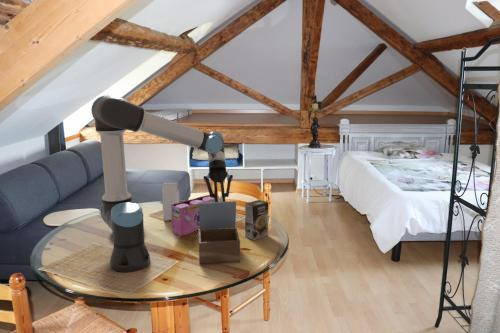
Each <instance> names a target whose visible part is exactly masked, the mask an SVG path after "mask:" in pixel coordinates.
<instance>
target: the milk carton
mask: <svg viewBox="0 0 500 333" xmlns="http://www.w3.org/2000/svg"><path fill="white" fill-rule="evenodd" d="M162 184H163V185H162V191H161V195H162V199H161V200H162V214H163V215H162V216H163V218H162V220H163V221H167V222H168V221H169V220H172V213H171V205H172V204H176V203H180V189H179V185H178V183H177V182H162Z"/></svg>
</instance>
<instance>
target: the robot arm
mask: <svg viewBox="0 0 500 333" xmlns="http://www.w3.org/2000/svg"><path fill="white" fill-rule="evenodd" d="M90 109H91V115H92V118H93V119H94V125H95V126H94V127H95V131H96V133H97V134H99V135H100V149H101V158H102V160H101V161H102V170H103V180H104V183H103V184H104V194H103V195H102V197H101V203H102V204H101V207H100V216H101V218H102V221H103V222H104V223H105V224H106V225H107V226H108V227H109V228H110V229H111V232H112V242H113V243H112V244H113V245H112V246H113V247H112V252H111V255H110V259H109V267H110V269H112V270H113V271H115V272H119V273H120V272H121V273H130V272H131V273H132V272H137V271H139V270H142V269H145V268H147V267H148V266H149V265H150V263H151V256H150V253H149V250H148V248H147V246H146V244H145V228H144V227H145V226H144V212H143V208H142V206H140V204H138V203H135V202H134V203H133V198H132V194H131V192H129V191H128V182H127V181H128V180H127V172H126V171H127V170H126V168H127V167H126V156H125V144H124V142H125V141H124V133H125V132H126V131H131V132H133V133H137V132H139V131H141V132H144V133H146V134H149V135H153V136H156V137H159V138H162V139H165V140H168V141H171V142H175V143H178V144H181V145H184V146H188V147H191V148H194V149H197V150H200V151H203V152H206V153H207V159H208V161H207V162H208V174H207V175H205V176H203V182H204V183H205V185H206V187H207V191H208V193H209V194H208V195H210V197H211V198H214V199H215V202H226V198H228V197H229V196H230V190H231V183H232V181H233V179H234V175H233V174H229V173H228V171H227V165H226V154H225V141H224V137H223V136H224V135H223V134H222V133H221V132H220V131H211V132H205V131H202V130H200V129H198V128H194V127H192V126H189V125H185V124H182V123H180V122H177V121H174V120H172V119H169V118H165V117H162V116H161V115H157V114H154V113H151V112H148V111H146V109H145V107H142V106H139V105H137V104H134V103H133V102H130V101H128V100H126V99H125V98H122V97H120V96H115V95H112V94H111V95H110V94H106V95H105V94H104V95H101V96H99V97H98V98H96V99H95V100H94V101H93V103H92V105H91V108H90ZM226 179H227V184H226V185H227V186H226V192H225V185H224V181H225V180H226ZM210 180H211V181H212V182H213V188H212V185H211V182H210ZM218 183H219V185H220V193H221V195H220V196H219V195H218V194H219V193H218ZM213 189H214V190H213ZM147 265H148V266H147Z"/></svg>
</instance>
